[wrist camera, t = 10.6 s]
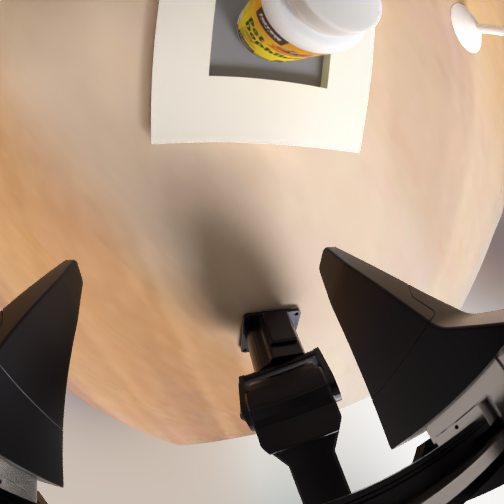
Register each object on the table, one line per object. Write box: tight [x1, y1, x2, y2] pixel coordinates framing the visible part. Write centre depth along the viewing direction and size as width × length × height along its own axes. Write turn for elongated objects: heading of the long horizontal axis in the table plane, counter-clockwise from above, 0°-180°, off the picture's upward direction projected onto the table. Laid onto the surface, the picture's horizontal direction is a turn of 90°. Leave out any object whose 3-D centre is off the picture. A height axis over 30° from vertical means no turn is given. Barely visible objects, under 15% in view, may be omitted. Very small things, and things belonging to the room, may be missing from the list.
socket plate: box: [151, 0, 375, 153], centre depth 14 cm, size 18×16×2 cm
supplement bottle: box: [237, 0, 382, 62], centre depth 11 cm, size 6×6×10 cm
